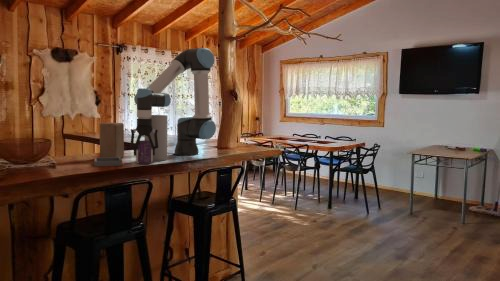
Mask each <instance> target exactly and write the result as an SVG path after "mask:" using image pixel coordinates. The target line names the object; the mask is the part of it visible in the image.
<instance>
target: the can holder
mask: <svg viewBox="0 0 500 281" xmlns="http://www.w3.org/2000/svg"><path fill="white" fill-rule="evenodd" d="M93 163H94V167H95V168H97V167H120V166H121V167H122V166H123V159H122V158H120V157H111V158H100V157H94V162H93Z"/></svg>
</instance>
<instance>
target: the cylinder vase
mask: <svg viewBox="0 0 500 281" xmlns="http://www.w3.org/2000/svg"><path fill="white" fill-rule="evenodd" d="M151 119H152V128H153V129H157V130H158V132H157V139H158V148H156V149H155V155H153V162H161V161H167V160H168V115H167V114H166V115H164V114H163V115H162V114H152V117H151ZM150 136H151V139H152V142H153V144H154V146H155V139H154V133H153V131H152V132H151V133H150ZM144 140H146V141H149V139H148V136H144ZM151 149H152V147H151Z"/></svg>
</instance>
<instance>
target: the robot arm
mask: <svg viewBox="0 0 500 281" xmlns="http://www.w3.org/2000/svg"><path fill="white" fill-rule="evenodd" d="M214 64H215V55H214V53H213V51H211V50H210V48H207V47H196V48H188V49H185V50H183V51H181V52H180V53H179V54H178V55H176V56H175V57H174V58H173V59H172V60H171V62H170V65H168V66H167V67H166V69H164V70H163V71H162V72H161V74H159V75H158V76H157V77H156V79H154V80H153V81H152V82H151V83H150V84H149V85H148V86H147V87H146V88H142V87H141V88H137V91H136V94H135V95H134V98H133V99H134V102H135V104H136V118H137V119H136V128H134V129H132V128H131V130H130V134H131V136H130V145H129V147H130V149H132V150H133V157H134V156H135V162H136V163H137V162H138V150H137V146H138V144H139V141H141V138H142V137H145V136H148V139H149V141H150V143H151V147H152V149H151V163H152V162H154V161H153V155H155V149H156V148H158V139H157V132H158V130H157V129H153V128H152V119H151V117H152V115H153V113H152V110H153V107H154V108H165V107H166V108H167V107H169V106H170V105H171V104H172V103H171V100H172V99H171V96H170V94H169V93H166V92H164V90H165V89H166V88H168V86H169V85H170V84H172V82H174V80H175V79H176V78H177V77H178V76H179V75H180V74H183V73H184V72H185V71H187V70H190V72H191V73H192V74H193V95H194V96H193V97H194V98H193V100H194V115H192V116H188V117H180V118H178V119H177V124H176V131H177V132H176V133H177V134H176V135H177V136H176V137H177V142H176V143H175V147H174V151H173V152H174V155H176V156H195V155H196V154H197V155H199V154H198V153H200V152H199V147H198V145H197V139H198V140H210V139H212V138H213V137H214V135H215V134H216V130H217V125H216V123H215V121H213V120H212V117H213V116H211V115H210V101H209V100H210V93H209V92H210V91H209V74H210V72H211V68H212V67H213V66H214ZM152 131H153V133H154V139H155V146H154V144H153V142H152V139H151V136H150V133H151V132H152ZM136 132H137V134H138V135H137V138H136V141H135V142H134V140H135V134H136Z"/></svg>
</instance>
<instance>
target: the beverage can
mask: <svg viewBox="0 0 500 281" xmlns="http://www.w3.org/2000/svg"><path fill="white" fill-rule="evenodd" d="M137 150H138V162H136V163H138V164H139V165H149V164H151V163H152V162H151V143H150V141H146V140H145V139H144V140H140V141H139V144H138V146H137Z"/></svg>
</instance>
